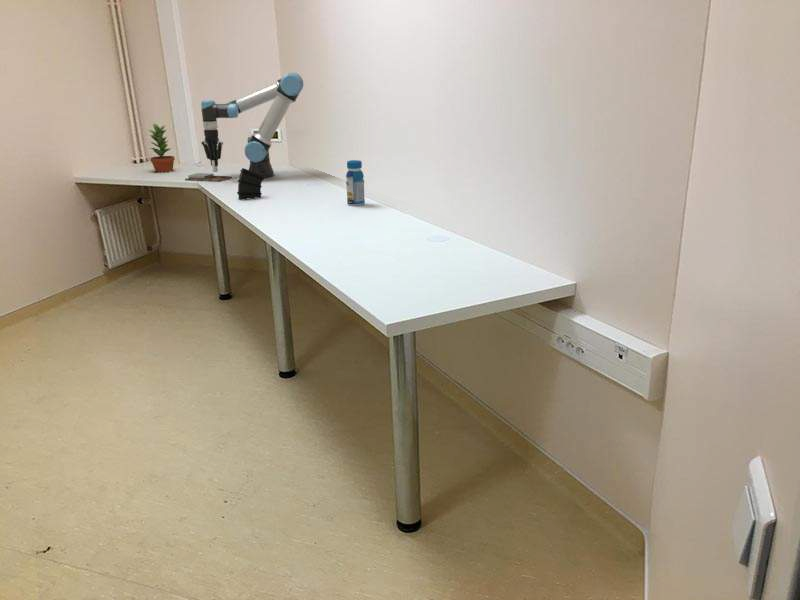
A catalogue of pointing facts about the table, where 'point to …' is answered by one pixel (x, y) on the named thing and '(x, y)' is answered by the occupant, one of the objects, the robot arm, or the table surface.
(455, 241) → the table surface
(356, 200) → the beverage bottle
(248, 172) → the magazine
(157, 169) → the potted plant
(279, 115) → the robot arm
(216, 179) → the brown wooden tray
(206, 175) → the cover plate
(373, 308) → the table surface
